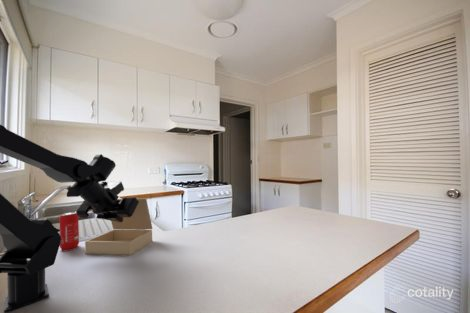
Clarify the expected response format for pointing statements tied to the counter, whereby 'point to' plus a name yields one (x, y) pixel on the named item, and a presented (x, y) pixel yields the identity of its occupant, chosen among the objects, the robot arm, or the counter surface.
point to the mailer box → (118, 242)
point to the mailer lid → (136, 218)
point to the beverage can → (69, 231)
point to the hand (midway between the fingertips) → (121, 220)
